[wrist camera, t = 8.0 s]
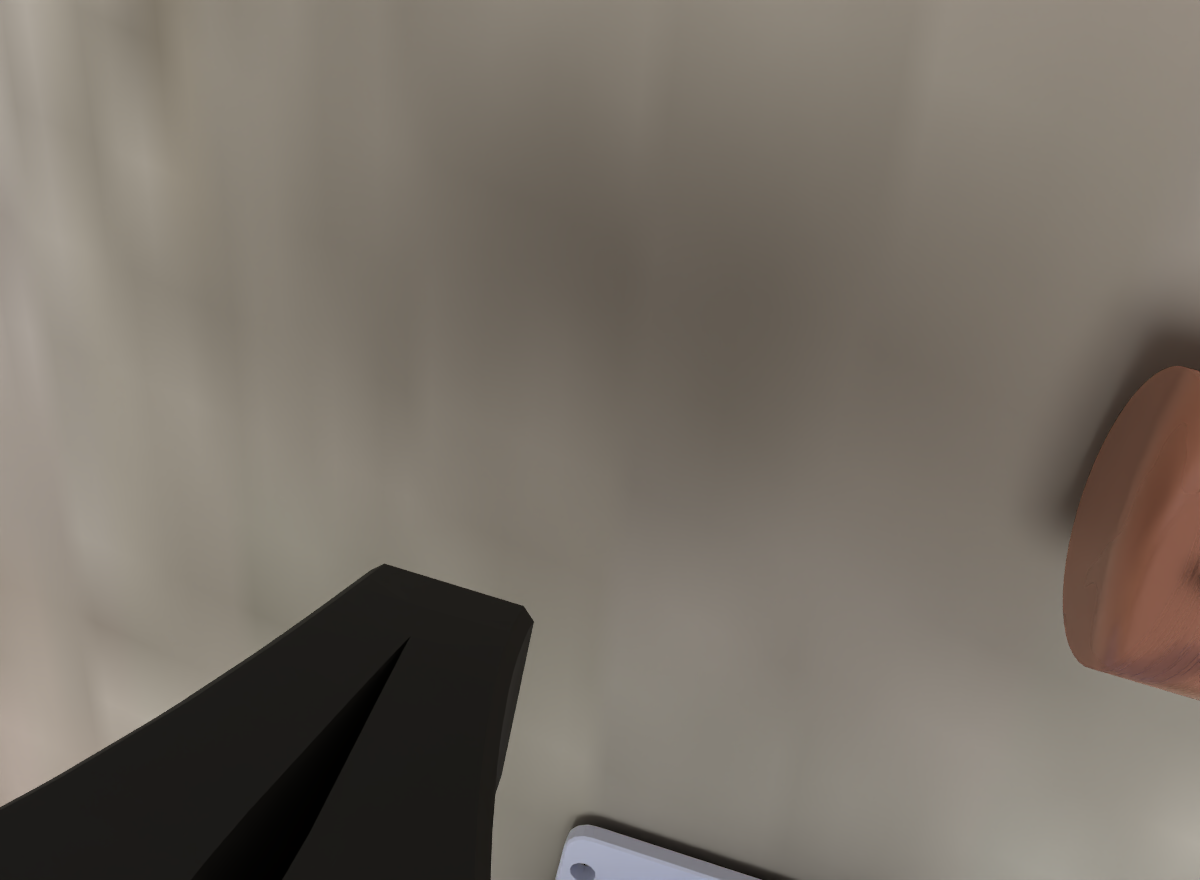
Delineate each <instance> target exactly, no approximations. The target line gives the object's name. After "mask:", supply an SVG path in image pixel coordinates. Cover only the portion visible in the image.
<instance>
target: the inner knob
mask: <svg viewBox="0 0 1200 880" xmlns="http://www.w3.org/2000/svg"><path fill="white" fill-rule="evenodd" d="M1063 616H1064V626H1065V632H1066V636H1067V640H1068V643H1069V646H1070V648H1071V651H1072V653H1073V655H1074V656H1075V657H1076V659H1077V660H1078V661H1079V662H1080V663H1081V664H1082V665H1084V666H1085V667H1088V668H1091V669H1095V670H1098V671H1101V672H1105V673H1108V674H1111V675H1115V676H1118V677H1122V678H1125V679H1128V680H1132V681H1135V682H1139V683H1142V684H1145V685H1149V686H1152V687H1155V688H1159V689H1162V690H1166V691H1169V692H1172V693H1176V694H1179V695H1183V696H1186V697H1189V698H1193V699H1196V700H1199V701H1200V371H1197V370H1194V369H1190V368H1186V367H1182V366H1171V367H1169V368H1166V369H1163V370H1161V371H1160V372H1158V373H1156V374H1155V375H1153V376H1152V377H1151V378H1150V379H1149V380H1147V381H1146V382H1145V383H1144V384H1143V385H1142V386H1141V387H1140V388H1139V389H1138V390H1137V392H1136V393H1135V394H1134V395H1133V396H1132V398H1131V399H1130V400H1129V401H1128V403H1127V404H1126V406H1125V407H1124V409H1123V410H1122V412H1121V413H1120V414H1119V416H1118V418H1117V419H1116V421H1115V423H1114V424H1113V426H1112V428H1111V429H1110V431H1109V433H1108V435H1107V437H1106V439H1105V441H1104V443H1103V445H1102V447H1101V449H1100V451H1099V453H1098V455H1097V458H1096V460H1095V462H1094V465H1093V467H1092V470H1091V472H1090V474H1089V477H1088V480H1087V482H1086V485H1085V488H1084V491H1083V494H1082V497H1081V500H1080V503H1079V506H1078V510H1077V513H1076V517H1075V521H1074V525H1073V528H1072V533H1071V538H1070V542H1069V547H1068V553H1067V559H1066V566H1065V574H1064V586H1063Z"/></svg>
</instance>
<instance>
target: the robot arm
mask: <svg viewBox="0 0 1200 880" xmlns="http://www.w3.org/2000/svg"><path fill="white" fill-rule="evenodd" d="M533 623H534V621H533V619H532V618H531V617H530V615H529V614H528V612H527V611H526V609H525V608H524V606H521V605H518V604H515V603H511V602H508V601H505V600H502V599H498V598H495V597H492V596H488V595H485V594H482V593H479V592H475V591H472V590H469V589H466V588H462V587H459V586H456V585H452V584H449V583H446V582H443V581H439V580H436V579H433V578H429V577H426V576H423V575H420V574H416V573H413V572H410V571H407V570H403V569H400V568H397V567H393V566H390V565H387V564H383V565H381V566H379V567H377V568H375V569H373V570H371V571H369V572H368V573H366V574H365V575H364V576H362V577H361V578H360V579H358V580H357V581H355V582H354V583H353V584H351V585H350V586H349V587H347V588H346V589H345V590H343V591H342V592H340V593H339V594H338V595H336V596H335V597H334V598H332V599H331V600H329V601H328V602H327V603H325V604H324V605H323V606H321V607H320V608H318V609H317V610H316V611H314V612H313V613H311V614H310V615H309V616H307V617H306V618H304V619H303V620H302V621H300V622H299V623H297V624H296V625H295V626H293V627H292V628H290V629H289V630H288V631H286V632H285V633H283V634H282V635H280V636H279V637H277V638H276V639H275V640H273V641H272V642H270V643H269V644H267V645H266V646H265V647H263V648H262V649H260V650H259V651H257V652H256V653H254V654H253V655H251V656H250V657H248V658H247V659H245V660H244V661H242V662H241V663H239V664H238V665H236V666H235V667H233V668H232V669H230V670H229V671H227V672H226V673H224V674H223V675H221V676H220V677H218V678H217V679H215V680H214V681H212V682H210V683H209V684H207V685H206V686H204V687H203V688H201V689H200V690H198V691H197V692H195V693H194V694H192V695H191V696H189V697H188V698H186V699H185V700H183V701H182V702H180V703H179V704H177V705H175V706H174V707H172V708H171V709H169V710H167V711H166V712H164V713H163V714H161V715H159V716H158V717H156V718H155V719H153V720H151V721H150V722H148V723H146V724H145V725H143V726H141V727H139V728H138V729H136V730H134V731H133V732H131V733H129V734H128V735H126V736H124V737H123V738H121V739H119V740H118V741H116V742H114V743H112V744H111V745H109V746H107V747H106V748H104V749H102V750H101V751H99V752H97V753H96V754H94V755H92V756H90V757H89V758H87V759H85V760H84V761H82V762H80V763H79V764H77V765H75V766H74V767H72V768H70V769H69V770H67V771H65V772H63V773H62V774H60V775H58V776H57V777H55V778H53V779H51V780H49V781H48V782H46V783H44V784H42V785H40V786H39V787H37V788H35V789H33V790H31V791H29V792H28V793H26V794H24V795H22V796H20V797H18V798H16V799H15V800H13V801H11V802H9V803H7V804H5V805H4V806H2V807H0V880H491V850H492V828H493V815H494V803H495V793H496V790H497V787H498V784H499V781H500V778H501V775H502V770H503V766H504V761H505V756H506V751H507V747H508V742H509V737H510V732H511V728H512V723H513V718H514V713H515V709H516V704H517V699H518V694H519V690H520V685H521V680H522V675H523V671H524V666H525V661H526V656H527V652H528V647H529V642H530V637H531V633H532V628H533ZM581 863H582V864H581ZM583 864H586V865H588V866H584V865H583ZM555 880H761V879H758V878H755V877H752V876H749V875H746V874H743V873H739V872H736V871H733V870H730V869H727V868H724V867H721V866H718V865H715V864H712V863H709V862H706V861H702V860H699V859H696V858H693V857H690V856H687V855H684V854H681V853H678V852H675V851H672V850H669V849H665V848H662V847H659V846H656V845H653V844H650V843H647V842H644V841H641V840H638V839H635V838H631V837H628V836H625V835H622V834H619V833H616V832H613V831H610V830H607V829H604V828H601V827H598V826H593V825H588V824H587V825H579V826H576V827H574V828H573V829H571V830H570V832H569V834H568V836H567V839H566V842H565V845H564V848H563V852H562V856H561V860H560V864H559V867H558V871H557V875H556V879H555Z"/></svg>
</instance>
